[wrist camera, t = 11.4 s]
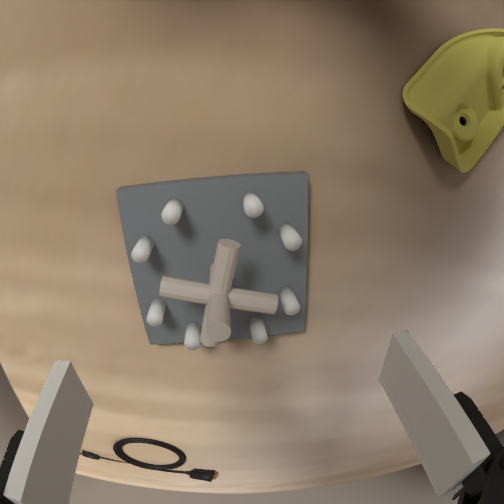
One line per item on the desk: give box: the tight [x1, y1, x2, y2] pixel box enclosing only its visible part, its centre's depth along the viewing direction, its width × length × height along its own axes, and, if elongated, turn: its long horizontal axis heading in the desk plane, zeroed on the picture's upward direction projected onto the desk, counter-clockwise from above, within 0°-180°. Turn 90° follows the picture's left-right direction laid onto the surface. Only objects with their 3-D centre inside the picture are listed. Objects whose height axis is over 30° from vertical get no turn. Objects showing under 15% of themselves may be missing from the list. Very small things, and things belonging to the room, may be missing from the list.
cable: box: [80, 438, 217, 482], centre depth 47 cm, size 14×28×2 cm, turn 74°
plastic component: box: [402, 29, 504, 173], centre depth 26 cm, size 20×7×10 cm
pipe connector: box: [159, 239, 278, 347], centre depth 27 cm, size 10×10×10 cm
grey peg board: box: [116, 171, 308, 350], centre depth 31 cm, size 18×18×4 cm
